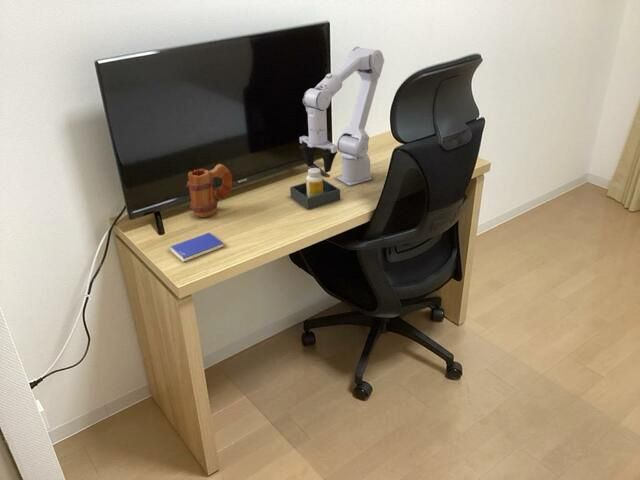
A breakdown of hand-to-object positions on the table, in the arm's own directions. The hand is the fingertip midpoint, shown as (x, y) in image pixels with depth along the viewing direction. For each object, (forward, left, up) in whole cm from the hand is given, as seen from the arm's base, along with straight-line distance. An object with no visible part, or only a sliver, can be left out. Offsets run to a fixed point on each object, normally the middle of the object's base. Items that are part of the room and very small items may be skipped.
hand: (319, 168), depth 186 cm
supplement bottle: (+2, +1, -10) cm, 10 cm away
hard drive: (+47, +9, -10) cm, 49 cm away
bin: (+2, +1, -10) cm, 10 cm away
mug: (+34, -10, -10) cm, 37 cm away
